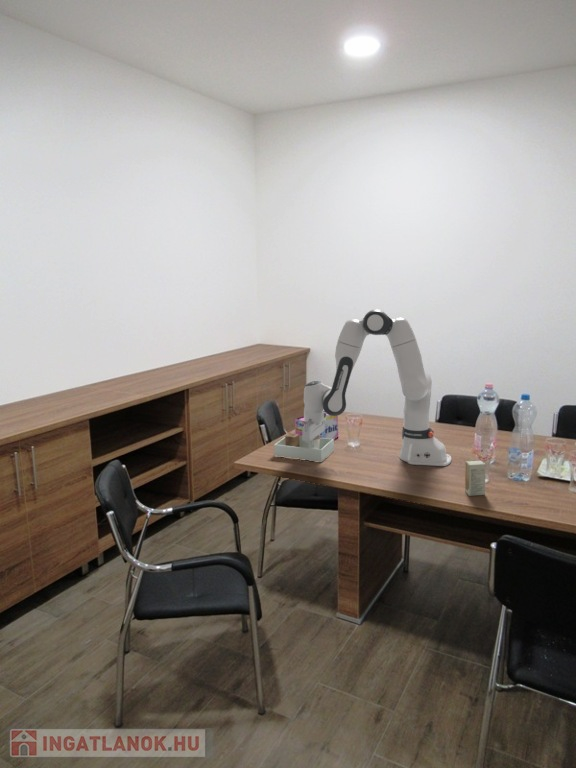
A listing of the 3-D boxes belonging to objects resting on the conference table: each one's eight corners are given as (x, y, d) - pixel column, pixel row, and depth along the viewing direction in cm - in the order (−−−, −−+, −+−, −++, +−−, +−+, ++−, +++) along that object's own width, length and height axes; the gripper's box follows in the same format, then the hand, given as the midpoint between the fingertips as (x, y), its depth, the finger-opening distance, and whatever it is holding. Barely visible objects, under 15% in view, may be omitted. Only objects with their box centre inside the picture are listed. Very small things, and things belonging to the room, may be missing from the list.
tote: (334, 451, 251) (333, 439, 250) (321, 463, 236) (321, 450, 235) (289, 446, 261) (288, 434, 259) (274, 457, 245) (273, 444, 244)
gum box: (329, 434, 278) (329, 409, 275) (340, 437, 272) (340, 412, 269) (295, 444, 263) (294, 418, 260) (305, 448, 257) (305, 421, 254)
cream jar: (321, 450, 247) (321, 435, 246) (317, 453, 243) (317, 438, 241) (311, 448, 249) (310, 434, 248) (306, 452, 245) (306, 437, 243)
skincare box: (480, 490, 202) (482, 460, 199) (485, 495, 197) (486, 464, 195) (463, 491, 201) (465, 460, 199) (468, 496, 197) (469, 464, 195)
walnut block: (299, 450, 252) (299, 434, 250) (295, 453, 247) (295, 437, 246) (289, 449, 254) (289, 433, 252) (285, 452, 249) (285, 436, 248)
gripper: (311, 423, 232) (312, 453, 235) (327, 412, 250) (328, 440, 253) (298, 421, 235) (299, 451, 237) (315, 410, 253) (315, 438, 256)
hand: (314, 445), depth 245 cm, fingers closed on cream jar, 5 cm apart
